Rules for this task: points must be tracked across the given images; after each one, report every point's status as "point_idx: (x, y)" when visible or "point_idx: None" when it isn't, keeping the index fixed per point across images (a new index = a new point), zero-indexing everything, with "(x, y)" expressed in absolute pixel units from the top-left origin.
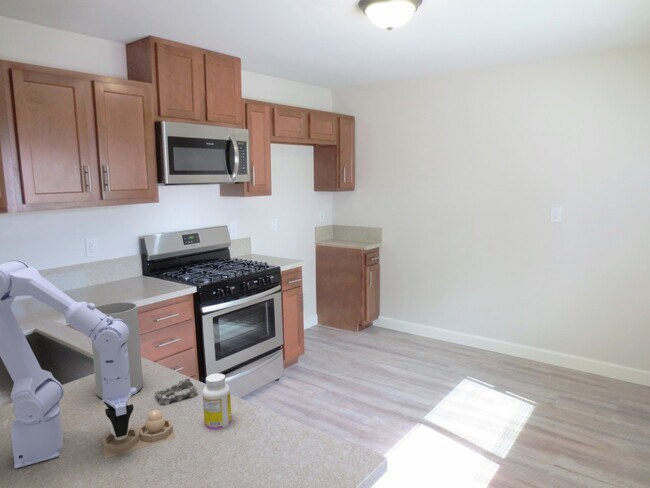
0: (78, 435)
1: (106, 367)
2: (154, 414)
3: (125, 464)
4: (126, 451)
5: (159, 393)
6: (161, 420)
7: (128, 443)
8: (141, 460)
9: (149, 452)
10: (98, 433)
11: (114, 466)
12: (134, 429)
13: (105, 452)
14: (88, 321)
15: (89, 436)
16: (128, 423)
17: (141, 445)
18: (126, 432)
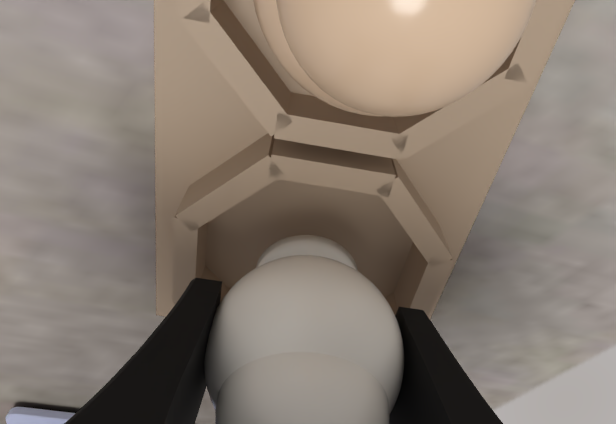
0: (8, 359)
1: None
2: (503, 40)
3: (529, 263)
4: (452, 254)
5: None
6: None
7: (447, 264)
8: (588, 181)
9: (550, 104)
10: (34, 287)
11: (490, 306)
12: (261, 171)
13: None
14: None
15: (50, 326)
16: (381, 342)
17: (469, 153)
18: (434, 330)
